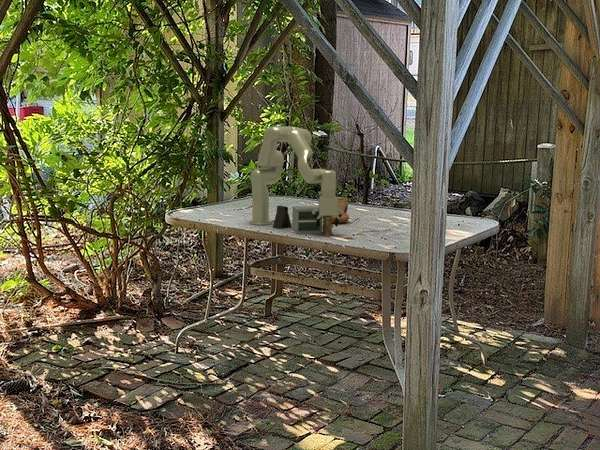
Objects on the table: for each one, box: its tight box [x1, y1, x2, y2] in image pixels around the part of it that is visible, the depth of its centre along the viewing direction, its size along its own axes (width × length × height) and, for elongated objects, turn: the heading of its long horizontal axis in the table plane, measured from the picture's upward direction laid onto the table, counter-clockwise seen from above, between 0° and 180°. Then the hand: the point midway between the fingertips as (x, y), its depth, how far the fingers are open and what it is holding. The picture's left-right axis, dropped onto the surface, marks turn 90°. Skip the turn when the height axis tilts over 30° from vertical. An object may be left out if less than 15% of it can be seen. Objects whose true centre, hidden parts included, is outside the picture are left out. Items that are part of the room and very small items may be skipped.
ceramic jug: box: [331, 196, 350, 224], centre depth 444 cm, size 18×14×14 cm
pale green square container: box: [291, 205, 335, 237], centre depth 407 cm, size 22×18×13 cm
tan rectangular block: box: [322, 216, 334, 237], centre depth 402 cm, size 4×8×10 cm, turn 11°
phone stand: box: [272, 205, 292, 230], centre depth 424 cm, size 9×6×12 cm, turn 135°
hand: (327, 226), depth 402 cm, fingers open, 9 cm apart
